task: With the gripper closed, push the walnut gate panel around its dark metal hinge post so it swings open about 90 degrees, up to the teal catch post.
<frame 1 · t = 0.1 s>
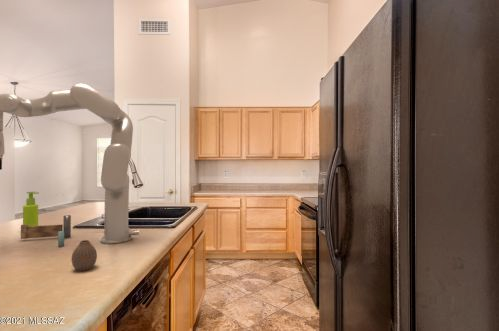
catch post: (61, 246, 111), on the table
soap dispenser: (31, 232, 135), on the table
hinge post: (67, 237, 125), on the table
gate: (42, 230, 121), point 4 cm above the table, hinge at 0.0°
vase: (84, 269, 87), on the table
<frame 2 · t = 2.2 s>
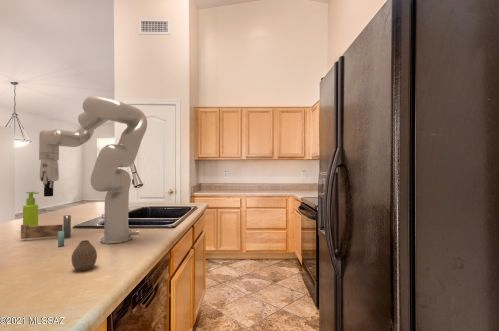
hand: (48, 196, 127), 19 cm above the table, tool pointing down, fingers closed
nothing on the table moved.
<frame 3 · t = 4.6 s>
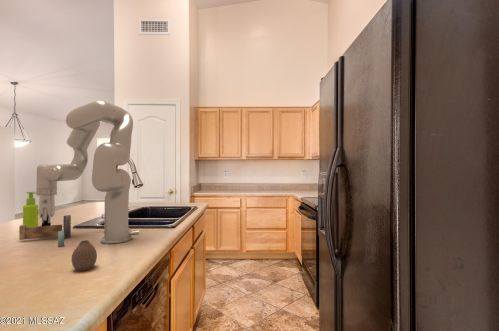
hand: (46, 232, 124), 3 cm above the table, tool pointing down, fingers closed
gate: (41, 230, 120), point 4 cm above the table, hinge at 6.3°, touching gripper
everything else where it was.
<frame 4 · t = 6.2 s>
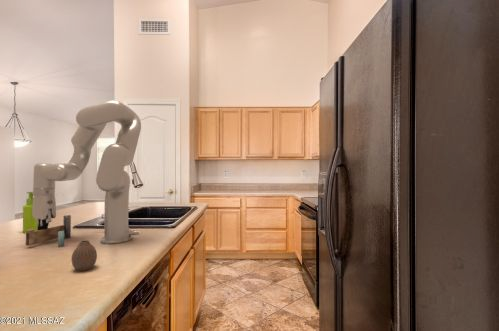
hand: (42, 234, 117), 3 cm above the table, tool pointing down, fingers closed
gate: (46, 233, 115), point 4 cm above the table, hinge at 55.1°, touching gripper
everything else where it was.
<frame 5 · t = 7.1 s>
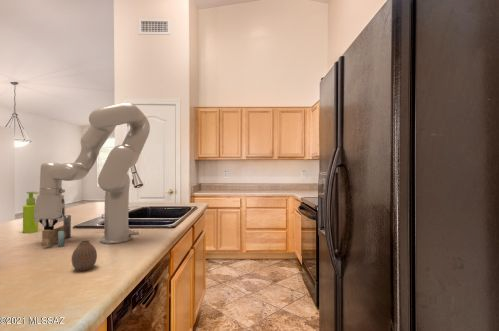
hand: (48, 235, 115), 3 cm above the table, tool pointing down, fingers closed
gate: (55, 233, 115), point 4 cm above the table, hinge at 80.0°, touching gripper
everything else where it was.
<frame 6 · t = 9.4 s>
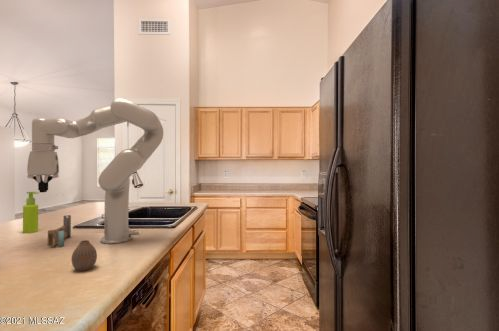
hand: (43, 192, 114), 22 cm above the table, tool pointing down, fingers closed
gate: (58, 233, 115), point 4 cm above the table, hinge at 86.5°
everything else where it was.
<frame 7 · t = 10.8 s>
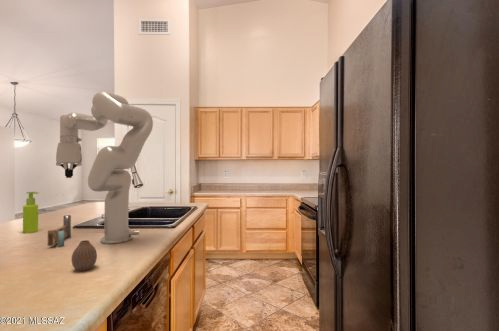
hand: (69, 177, 134), 27 cm above the table, tool pointing down, fingers closed
nothing on the table moved.
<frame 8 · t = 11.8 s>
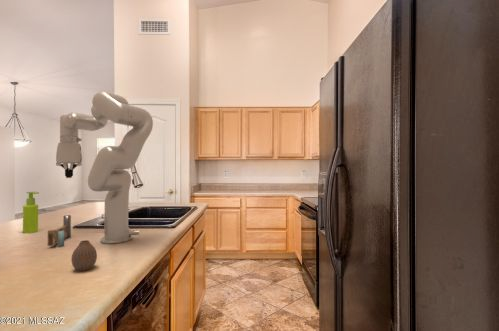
hand: (69, 177, 134), 27 cm above the table, tool pointing down, fingers closed
nothing on the table moved.
at the end: gate at +86° (first picture: +0°); soap dispenser moved 0.2 cm from its start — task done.
